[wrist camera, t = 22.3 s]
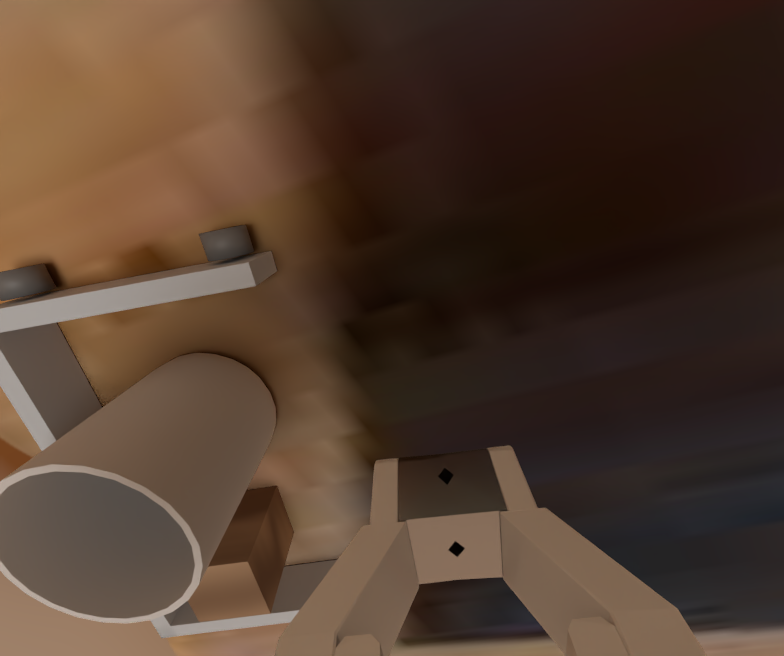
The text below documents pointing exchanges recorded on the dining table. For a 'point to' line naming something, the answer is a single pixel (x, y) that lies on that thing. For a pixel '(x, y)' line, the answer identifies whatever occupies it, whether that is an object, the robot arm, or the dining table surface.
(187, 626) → the cart frame
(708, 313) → the dining table surface
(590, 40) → the dining table surface
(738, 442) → the dining table surface
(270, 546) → the walnut block
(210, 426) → the cup
